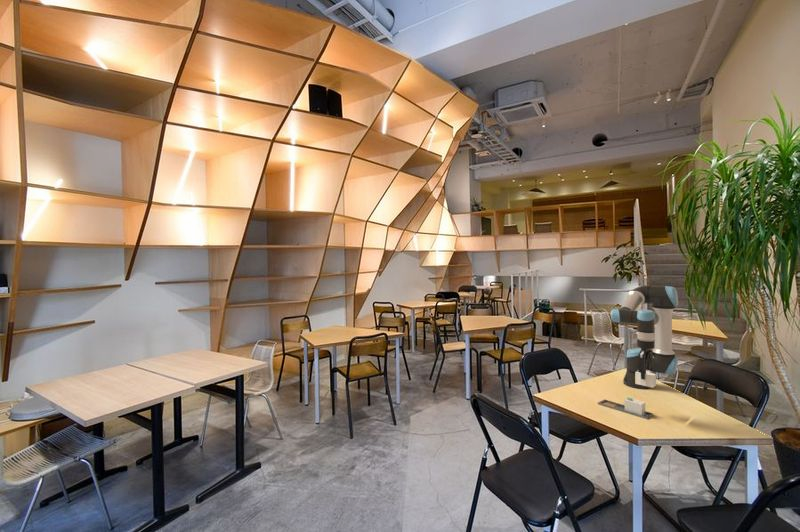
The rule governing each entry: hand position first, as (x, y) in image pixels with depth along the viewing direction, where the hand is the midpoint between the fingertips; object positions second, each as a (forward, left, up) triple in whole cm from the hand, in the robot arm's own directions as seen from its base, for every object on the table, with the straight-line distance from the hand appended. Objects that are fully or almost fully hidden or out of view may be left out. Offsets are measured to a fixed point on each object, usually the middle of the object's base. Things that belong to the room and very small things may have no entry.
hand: (645, 383), depth 193 cm
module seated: (+4, -3, -15) cm, 16 cm away
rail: (+4, -8, -16) cm, 19 cm away
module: (0, 0, 0) cm, 0 cm away
